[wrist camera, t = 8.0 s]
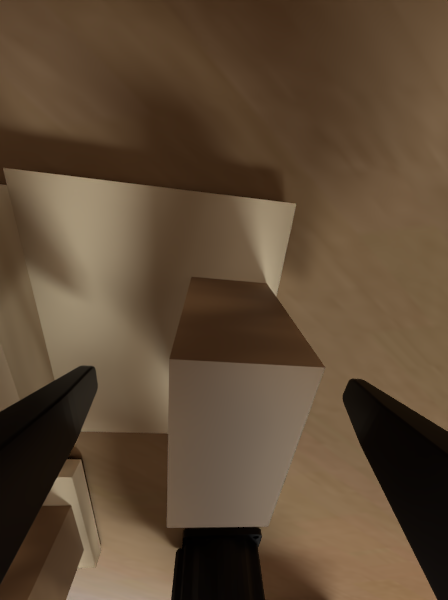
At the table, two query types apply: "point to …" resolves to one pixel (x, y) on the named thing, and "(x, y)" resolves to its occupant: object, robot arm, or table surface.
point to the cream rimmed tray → (162, 329)
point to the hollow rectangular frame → (55, 542)
